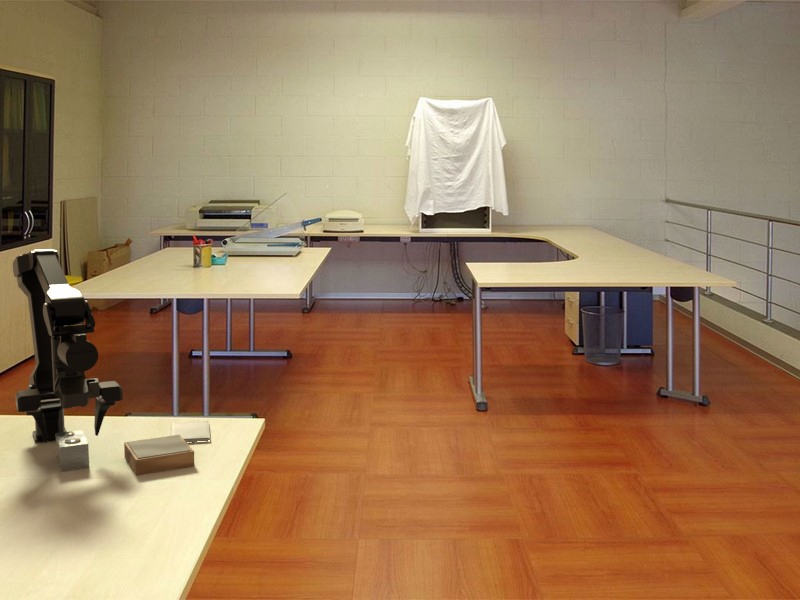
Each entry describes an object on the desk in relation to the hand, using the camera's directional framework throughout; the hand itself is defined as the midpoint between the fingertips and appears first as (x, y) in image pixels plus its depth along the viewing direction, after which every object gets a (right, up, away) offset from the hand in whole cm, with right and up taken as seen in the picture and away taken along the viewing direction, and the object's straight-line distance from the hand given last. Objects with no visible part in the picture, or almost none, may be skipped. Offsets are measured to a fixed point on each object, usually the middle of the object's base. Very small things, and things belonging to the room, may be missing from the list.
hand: (71, 438), depth 156 cm
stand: (+16, -5, +2) cm, 17 cm away
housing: (0, -5, +1) cm, 5 cm away
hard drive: (+18, -3, +19) cm, 26 cm away
